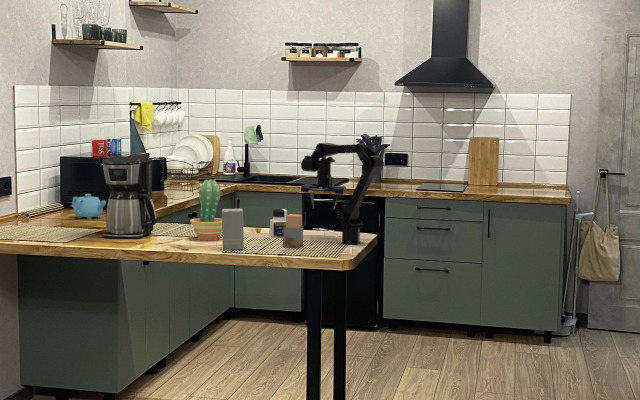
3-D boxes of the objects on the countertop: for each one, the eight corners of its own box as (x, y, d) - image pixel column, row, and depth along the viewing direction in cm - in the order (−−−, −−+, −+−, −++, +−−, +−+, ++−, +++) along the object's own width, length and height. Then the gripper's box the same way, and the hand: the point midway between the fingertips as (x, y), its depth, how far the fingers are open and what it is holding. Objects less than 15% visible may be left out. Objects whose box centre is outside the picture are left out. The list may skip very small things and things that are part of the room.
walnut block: (302, 246, 352) (303, 236, 352) (298, 248, 346) (298, 238, 346) (287, 245, 354) (287, 235, 354) (282, 247, 348) (282, 237, 348)
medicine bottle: (273, 238, 372) (273, 210, 371) (269, 235, 379) (270, 208, 378) (289, 237, 374) (289, 209, 373) (285, 235, 381) (286, 208, 380)
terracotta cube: (301, 227, 351) (301, 214, 350) (297, 228, 346) (297, 216, 346) (290, 226, 352) (290, 214, 352) (285, 227, 348) (286, 215, 347)
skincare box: (244, 247, 346) (244, 208, 344) (243, 250, 339) (243, 210, 337) (222, 247, 346) (222, 207, 344) (221, 250, 339) (221, 209, 337)
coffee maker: (102, 240, 358) (101, 158, 355) (98, 229, 389) (97, 154, 386) (157, 238, 365) (157, 158, 362) (149, 228, 396) (149, 154, 392)
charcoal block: (302, 236, 352) (303, 226, 351) (297, 238, 346) (297, 228, 346) (289, 235, 354) (289, 226, 353) (283, 237, 348) (283, 227, 348)
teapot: (61, 218, 423) (61, 194, 421) (83, 214, 438) (82, 191, 437) (96, 221, 415) (95, 196, 414) (116, 217, 431) (116, 193, 429)
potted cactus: (234, 238, 369) (234, 179, 366) (209, 242, 356) (209, 182, 353) (206, 235, 377) (206, 177, 375) (181, 239, 365) (182, 179, 362)
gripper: (350, 172, 372) (349, 208, 373) (308, 170, 377) (308, 206, 379) (343, 174, 361) (342, 211, 363) (300, 172, 367) (300, 209, 368)
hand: (323, 209), depth 369 cm, fingers open, 9 cm apart
